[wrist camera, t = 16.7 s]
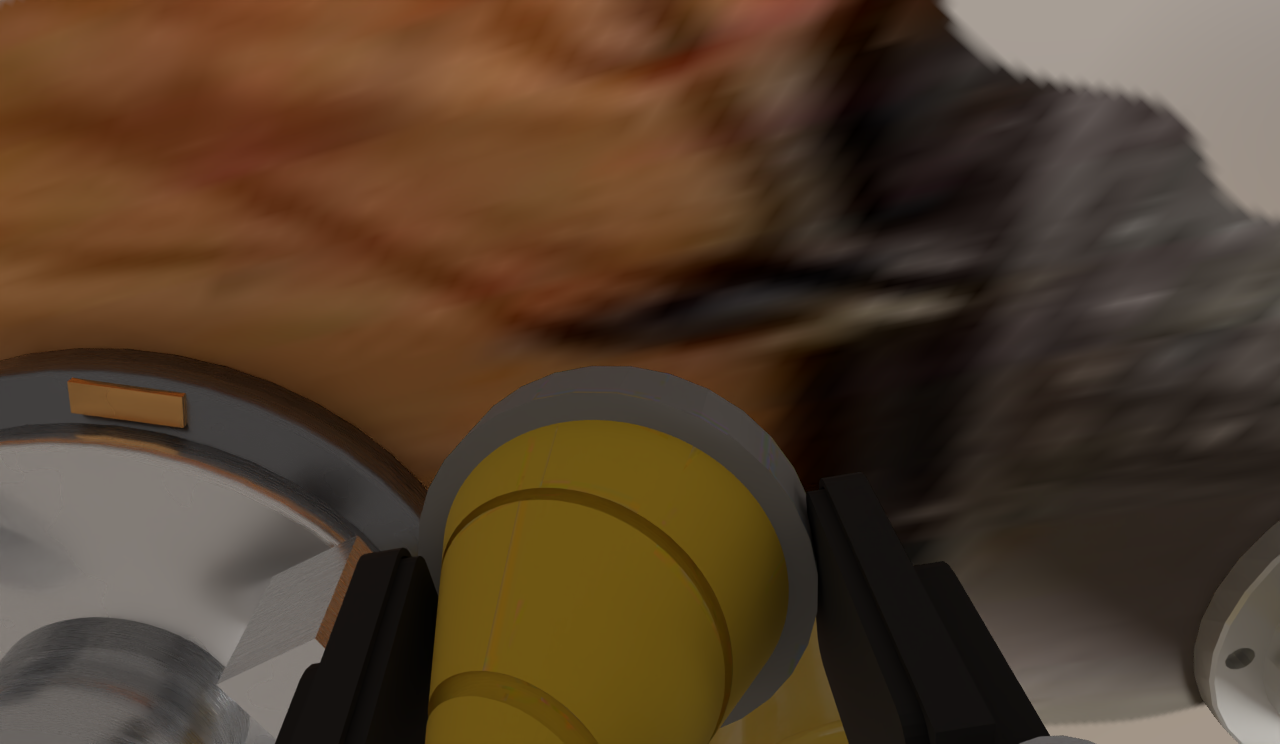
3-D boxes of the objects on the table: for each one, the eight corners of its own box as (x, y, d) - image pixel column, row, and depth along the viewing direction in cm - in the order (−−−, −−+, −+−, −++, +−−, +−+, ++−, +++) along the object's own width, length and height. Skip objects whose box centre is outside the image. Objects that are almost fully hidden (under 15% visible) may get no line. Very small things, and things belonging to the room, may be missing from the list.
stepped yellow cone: (685, 637, 16) (519, 1468, 6) (454, 467, 15) (-77, 1093, 6) (883, 441, 14) (1055, 1247, 4) (621, 239, 13) (204, 658, 4)
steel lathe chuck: (-215, 350, 18) (-450, 465, 14) (494, 504, 20) (469, 638, 16) (-143, 810, 24) (-288, 979, 20) (389, 883, 27) (353, 1044, 23)
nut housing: (384, 293, 20) (367, 322, 18) (540, 776, 27) (537, 825, 26) (-313, 411, 20) (-388, 449, 18) (35, 853, 28) (2, 905, 26)
